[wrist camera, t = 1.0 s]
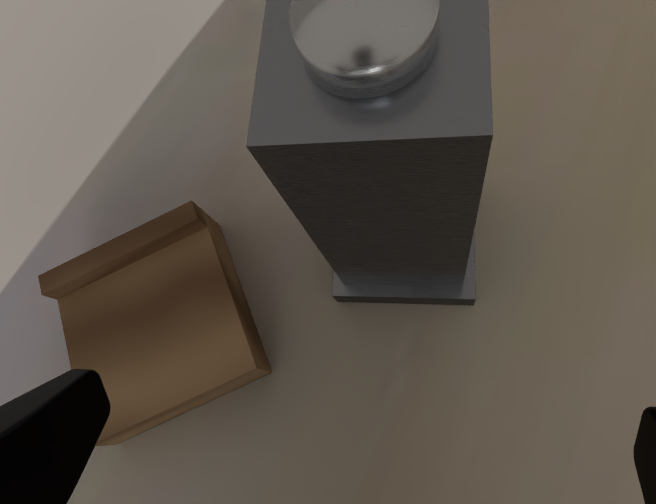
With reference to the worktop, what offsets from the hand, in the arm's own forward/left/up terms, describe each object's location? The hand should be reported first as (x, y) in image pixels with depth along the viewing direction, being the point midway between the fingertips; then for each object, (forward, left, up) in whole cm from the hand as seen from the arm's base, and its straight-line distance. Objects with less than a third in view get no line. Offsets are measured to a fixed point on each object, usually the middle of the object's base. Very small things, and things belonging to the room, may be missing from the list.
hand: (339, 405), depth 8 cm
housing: (+7, -4, -13) cm, 15 cm away
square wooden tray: (+8, +8, -13) cm, 18 cm away
